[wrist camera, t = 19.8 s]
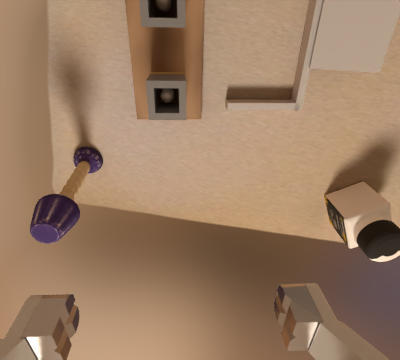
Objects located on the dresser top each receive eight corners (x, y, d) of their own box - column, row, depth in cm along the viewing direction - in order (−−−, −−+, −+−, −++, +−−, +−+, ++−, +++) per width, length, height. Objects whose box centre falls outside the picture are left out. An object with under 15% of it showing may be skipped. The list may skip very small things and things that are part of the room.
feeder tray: (394, -63, 30) (433, -80, 25) (344, 106, 39) (366, 117, 35) (237, -71, 29) (248, -89, 24) (225, 106, 38) (231, 117, 33)
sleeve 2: (185, 72, 34) (186, 80, 29) (185, 106, 37) (186, 119, 31) (151, 72, 34) (145, 80, 29) (153, 106, 36) (148, 119, 31)
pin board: (204, -66, 29) (209, -84, 24) (200, 116, 39) (203, 129, 34) (119, -70, 28) (107, -90, 23) (138, 116, 38) (132, 130, 33)
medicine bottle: (323, 194, 47) (363, 242, 37) (363, 180, 46) (416, 224, 36) (329, 222, 51) (367, 273, 40) (366, 209, 50) (415, 258, 39)
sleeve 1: (184, -19, 30) (185, -28, 24) (184, 27, 32) (185, 27, 27) (144, -20, 29) (136, -30, 24) (147, 26, 31) (141, 26, 26)
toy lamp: (106, 148, 40) (64, 217, 26) (107, 175, 42) (69, 251, 28) (73, 145, 40) (12, 213, 25) (76, 172, 42) (21, 249, 28)
